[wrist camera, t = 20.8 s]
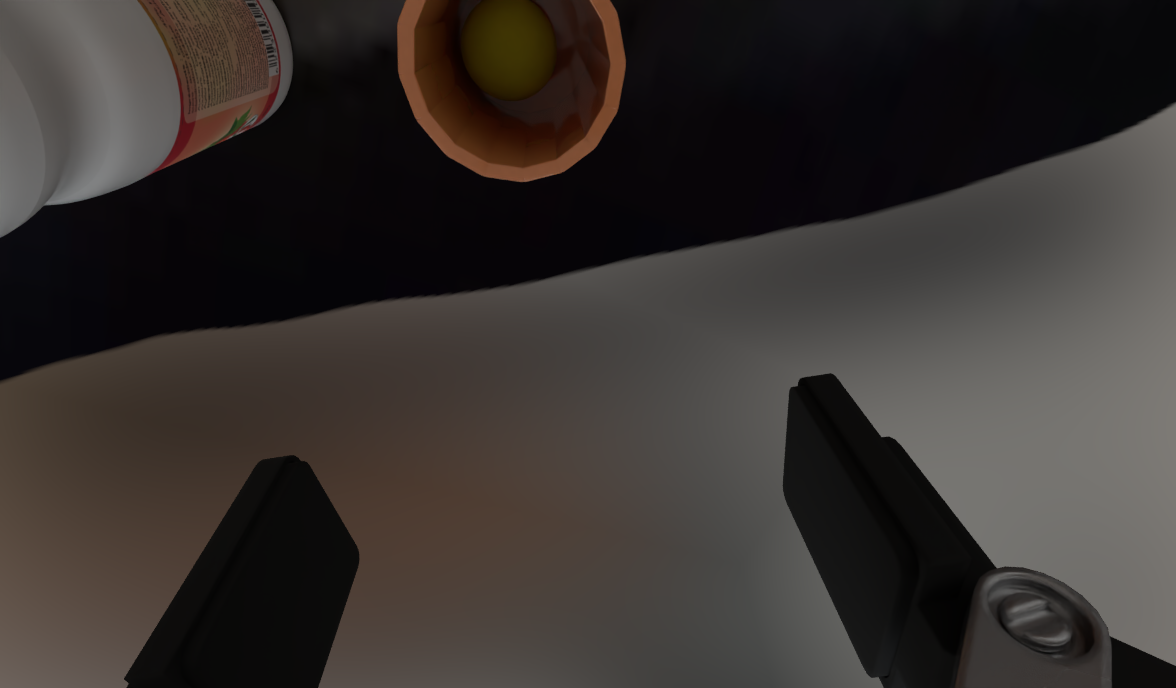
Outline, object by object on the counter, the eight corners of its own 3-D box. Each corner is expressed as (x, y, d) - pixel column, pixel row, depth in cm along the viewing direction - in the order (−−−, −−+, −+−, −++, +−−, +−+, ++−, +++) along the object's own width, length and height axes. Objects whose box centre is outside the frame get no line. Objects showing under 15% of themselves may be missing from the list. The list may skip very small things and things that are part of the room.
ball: (585, 27, 30) (555, 40, 26) (543, 108, 33) (511, 130, 29) (507, -32, 29) (464, -28, 25) (472, 56, 32) (429, 71, 28)
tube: (626, 14, 31) (668, 26, 20) (552, 146, 35) (554, 217, 24) (492, -85, 28) (456, -134, 17) (426, 69, 32) (363, 109, 21)
